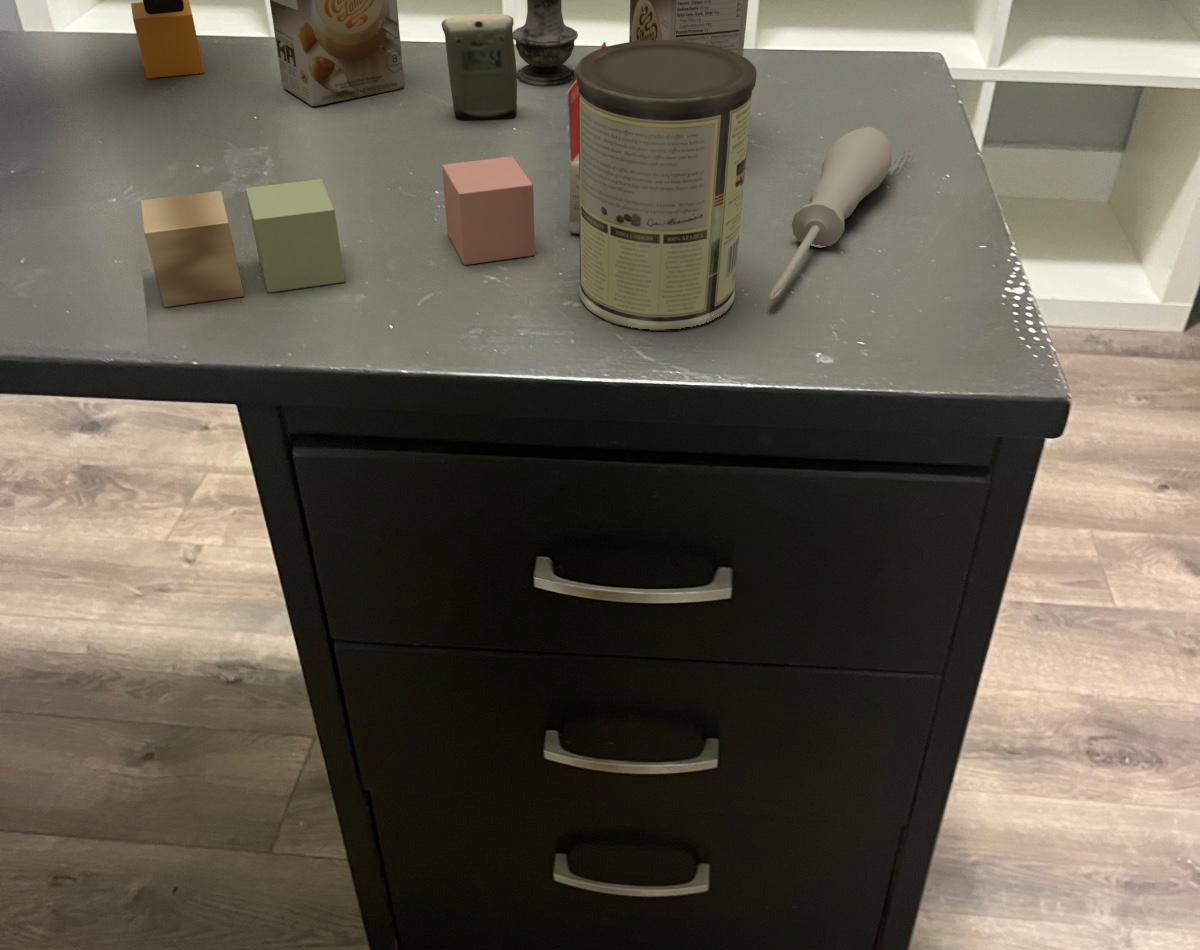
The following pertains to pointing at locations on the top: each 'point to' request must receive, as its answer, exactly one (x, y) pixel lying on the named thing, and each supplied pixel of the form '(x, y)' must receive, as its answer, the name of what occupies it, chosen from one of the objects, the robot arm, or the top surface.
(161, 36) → the orange block
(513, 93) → the grey upright labelled block
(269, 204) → the row block
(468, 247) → the row block
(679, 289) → the coffee can
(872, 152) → the screwdriver
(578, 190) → the ink cartridge box
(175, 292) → the row block
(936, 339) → the top surface
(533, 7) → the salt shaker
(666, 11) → the coffee box
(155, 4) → the robot arm
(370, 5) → the coffee box
